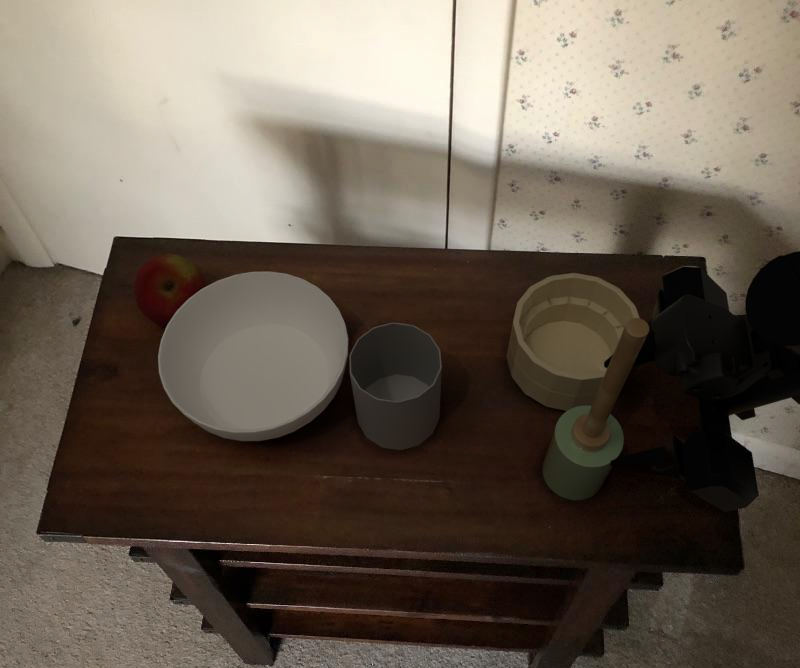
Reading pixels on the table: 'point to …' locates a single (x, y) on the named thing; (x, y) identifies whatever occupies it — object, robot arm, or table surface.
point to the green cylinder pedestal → (579, 459)
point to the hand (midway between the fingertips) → (609, 414)
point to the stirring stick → (610, 389)
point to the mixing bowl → (566, 338)
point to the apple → (166, 286)
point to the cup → (396, 385)
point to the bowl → (254, 355)
